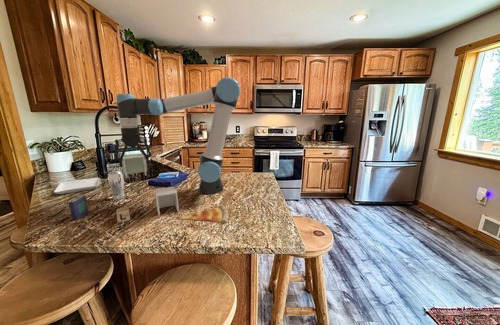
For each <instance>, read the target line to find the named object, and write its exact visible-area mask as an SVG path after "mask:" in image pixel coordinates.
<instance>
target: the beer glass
mask: <svg viewBox="0 0 500 325" xmlns="http://www.w3.org/2000/svg"><path fill="white" fill-rule="evenodd" d="M123 174H124V173H123V171H119V170H116V171H110V172H108V173H107V179H108V185H109V187H110V190H111V192H112V200H113V201H120V200H123V199H125V198H126V195H125V191H124V186H125V185H124V184H125V182H124V180H125V179H124V175H123Z"/></svg>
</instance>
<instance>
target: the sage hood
mask: <svg viewBox="0 0 500 325" xmlns="http://www.w3.org/2000/svg"><path fill="white" fill-rule="evenodd" d="M144 158H145V156H144V155H143V154H142V152H141V153H132V154H124V156H123V159H122V160H123V163H124V169H125V174H124V175H125V179H128V176H129V174H139V173H144V176H147V171H146V167H145V159H144Z"/></svg>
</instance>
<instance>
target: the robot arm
mask: <svg viewBox="0 0 500 325" xmlns="http://www.w3.org/2000/svg"><path fill="white" fill-rule="evenodd" d="M240 95H241V86H240V83H239V82H238V81H237V80H236V79H235V78H233V77H230V76H226V77H223V78H221V79H219V80H218V82H217V84H216V85H215V86H211V87H210V88H209V89H207V90H206V89H205V90H201V91H196V92H191V93H187V94H181V95H176V96H171V97H167V98H163V99H161V98H153V97H152V98H136V97H135V95H134V94H132V93H117V94H116V97H115V98H116V106H117V112H118V113H117V114H118V120H119V126H120V132H121V138H119V139H115V140H114V143H115V149H114V158H113V159H114V161H118V162H119V167H120V168H122V170H123V171H122V172H123V174H124V175H125V169H124V163H123V156H124V155H126V151H127V149H128V147H137V149H139V151H140V152H141V153H142V154H143V155H144V159H145V167H146V172H148V165H150V161H149V158H152V156H153V155H152V154H153V153H152V152H151V150H150V149H151V148H150V147H149V145H148V139H147V137H141V136H140V129H139V127H138V126H139V122H138V116H137V115H139V116H142V115H143V116H145V115H147V116H149V115H151V116H152V115H153V116H161V115H164V114H168V113H173V112H178V111H182V110H183V111H184V110H188V109H193V108H197V107H203V106H208V105H214V106H215V108H214V112H213V117H212V119H211V121H212V122H211V125H210V130H209V134H208V140H207V143H206V148H205V151H204V152H203V153H200V155H199V166H198V169H197V174H198V177H199V178H200V182H199V185H198V192H199V193H201V194H204V195H215V194H218V193H220V192H223V191H224V184H223V181H222V178H221V175H222V165H223V162H224V157H223V151H224V146H225V142H226V137H227V132H228V129H229V125H230V120H231V117H232V112H233V111H234V110H236V109H237V108H236V107H237V104H238V100H239V97H240ZM141 141H142V143H143V144H144V146H145V149H146V151H147V153H146V151H144V149H143V148H142V146H141V145H140V142H141ZM121 142H122V143H123V144H124V146H123V148H122V151H121V154H120V155H119V152H120V151H119V149H120V144H121Z"/></svg>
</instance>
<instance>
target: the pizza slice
mask: <svg viewBox="0 0 500 325" xmlns="http://www.w3.org/2000/svg"><path fill="white" fill-rule="evenodd" d="M178 220H184V221H185V220H186V221H194V222H195V221H196V222H198V221H199V222H208V223H209V222H210V223H221V224H222V223H223V224H227V223H228V221H229V210H228V208H226V206H225V205H224V204H219V205H218V206H217V207H213V208H209V209H207V210H206V209H205V210H204V211H200V212H196V213H193V214H189V215H185V216H182V217H179V218H178Z"/></svg>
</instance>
